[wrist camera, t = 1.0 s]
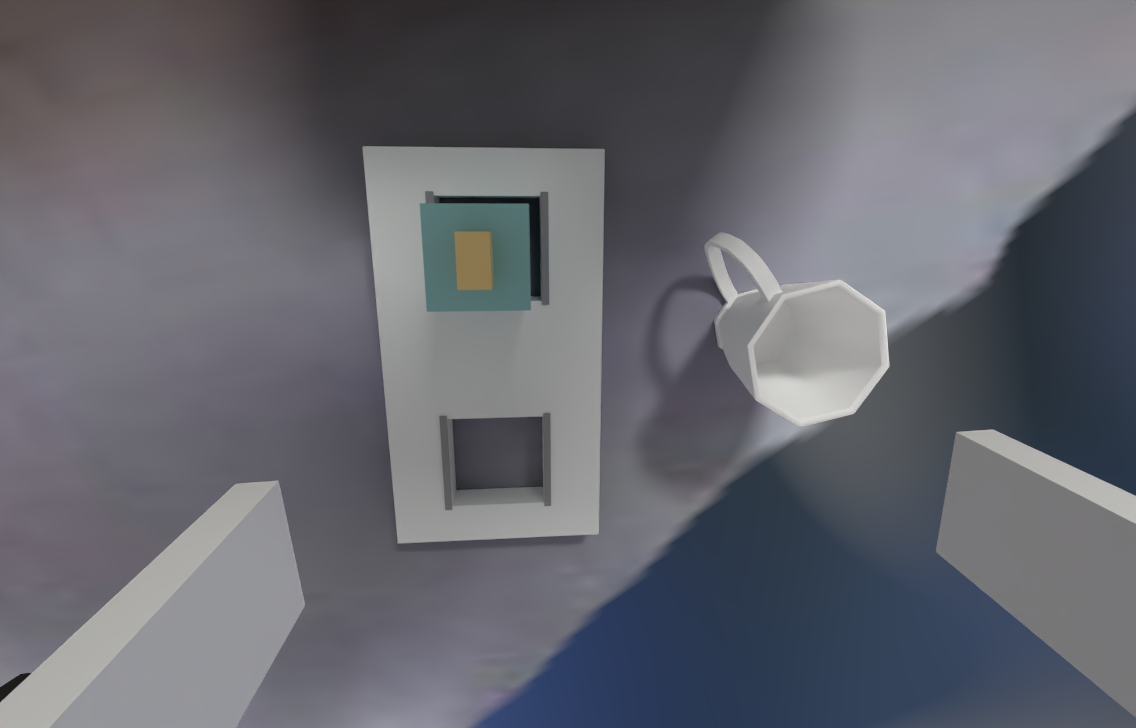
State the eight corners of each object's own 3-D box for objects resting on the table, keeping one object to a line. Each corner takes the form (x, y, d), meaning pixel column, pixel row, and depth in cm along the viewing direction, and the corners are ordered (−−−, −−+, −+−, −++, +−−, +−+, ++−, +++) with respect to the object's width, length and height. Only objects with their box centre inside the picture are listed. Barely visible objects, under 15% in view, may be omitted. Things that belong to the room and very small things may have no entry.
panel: (373, 151, 28) (361, 145, 26) (599, 154, 29) (605, 148, 27) (404, 525, 34) (397, 544, 32) (594, 516, 34) (599, 535, 32)
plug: (453, 211, 29) (410, 201, 18) (526, 211, 30) (529, 201, 18) (457, 284, 30) (418, 318, 19) (528, 284, 30) (531, 317, 19)
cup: (729, 403, 33) (792, 456, 26) (641, 272, 31) (681, 287, 23) (824, 336, 33) (918, 371, 25) (742, 198, 30) (819, 188, 23)
